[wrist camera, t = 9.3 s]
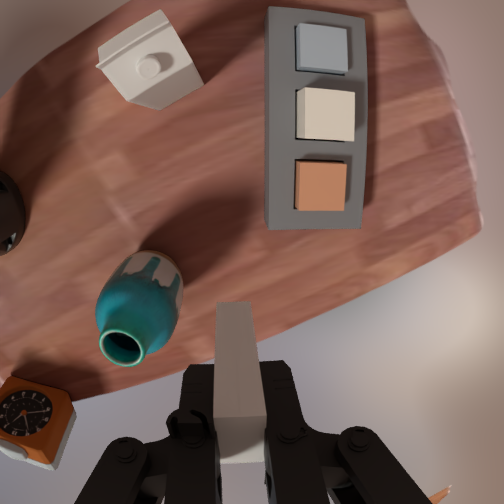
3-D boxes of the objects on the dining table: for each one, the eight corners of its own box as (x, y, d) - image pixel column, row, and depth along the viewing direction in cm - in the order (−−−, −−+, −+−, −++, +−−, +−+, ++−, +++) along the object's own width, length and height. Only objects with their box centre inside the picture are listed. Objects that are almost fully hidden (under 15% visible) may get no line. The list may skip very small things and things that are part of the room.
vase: (193, 298, 50) (180, 383, 32) (132, 304, 50) (96, 384, 32) (181, 236, 46) (155, 302, 29) (115, 245, 46) (62, 309, 28)
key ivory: (294, 137, 39) (304, 138, 34) (294, 93, 37) (305, 87, 32) (337, 139, 40) (354, 141, 34) (338, 96, 38) (354, 92, 32)
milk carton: (137, 71, 37) (81, 38, 19) (181, 45, 36) (151, -7, 19) (159, 111, 40) (113, 98, 22) (204, 85, 39) (188, 52, 21)
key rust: (290, 200, 45) (298, 210, 39) (290, 158, 42) (300, 162, 37) (330, 200, 45) (343, 210, 40) (332, 159, 43) (346, 164, 37)
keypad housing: (264, 219, 46) (268, 229, 42) (264, 18, 35) (268, 6, 31) (348, 218, 47) (360, 228, 43) (351, 28, 36) (364, 18, 32)
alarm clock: (69, 390, 57) (39, 460, 38) (78, 414, 60) (54, 481, 41) (8, 373, 55) (-28, 431, 36) (19, 398, 58) (-10, 454, 39)
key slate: (291, 74, 38) (300, 66, 33) (290, 35, 36) (299, 23, 30) (333, 78, 38) (347, 71, 33) (332, 40, 36) (346, 29, 31)
